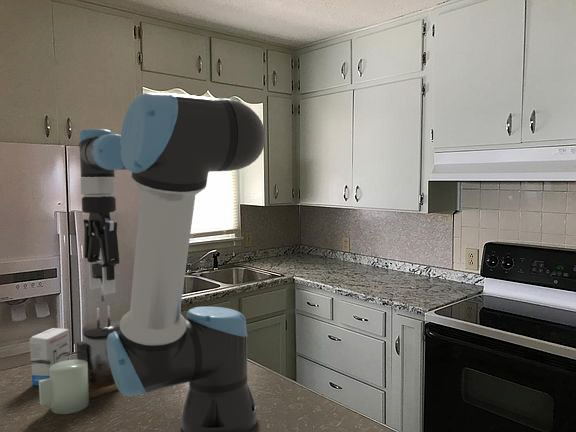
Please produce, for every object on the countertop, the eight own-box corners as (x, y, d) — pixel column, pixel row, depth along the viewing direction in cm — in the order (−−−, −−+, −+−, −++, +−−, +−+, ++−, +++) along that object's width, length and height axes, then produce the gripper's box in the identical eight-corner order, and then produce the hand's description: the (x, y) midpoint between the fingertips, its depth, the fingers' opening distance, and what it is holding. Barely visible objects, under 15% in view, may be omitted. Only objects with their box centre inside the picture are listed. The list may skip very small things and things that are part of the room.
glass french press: (143, 381, 120) (140, 307, 118) (90, 398, 111) (86, 318, 109) (120, 366, 129) (117, 297, 128) (69, 381, 120) (65, 307, 119)
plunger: (115, 301, 118) (114, 264, 118) (97, 304, 115) (96, 266, 115) (108, 297, 122) (106, 262, 121) (90, 301, 119) (88, 264, 118)
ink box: (49, 387, 117) (46, 339, 116) (31, 385, 118) (28, 337, 117) (71, 373, 126) (69, 328, 125) (54, 371, 126) (52, 327, 126)
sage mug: (94, 405, 107) (93, 365, 107) (47, 421, 101) (45, 379, 100) (81, 394, 113) (79, 356, 112) (35, 409, 106) (33, 368, 105)
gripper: (133, 195, 112) (136, 295, 114) (97, 194, 126) (100, 282, 128) (100, 197, 107) (104, 300, 108) (66, 195, 121) (71, 286, 123)
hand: (102, 290), depth 118 cm, fingers open, 7 cm apart
